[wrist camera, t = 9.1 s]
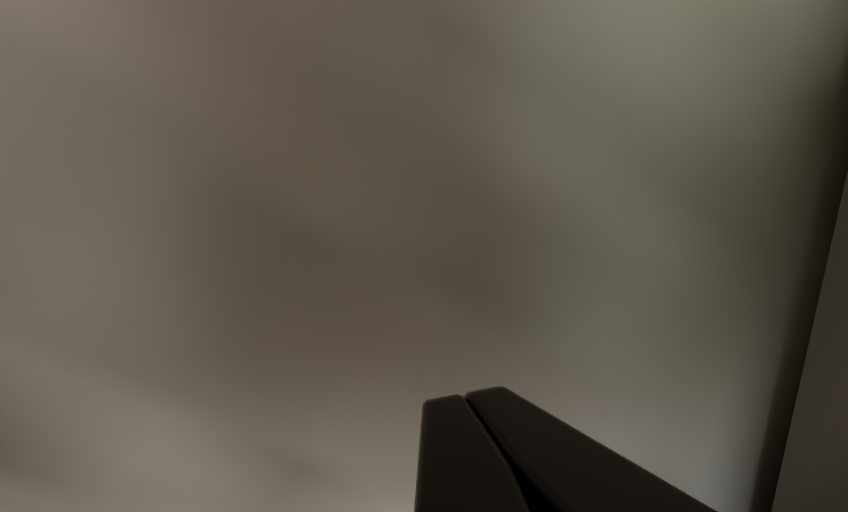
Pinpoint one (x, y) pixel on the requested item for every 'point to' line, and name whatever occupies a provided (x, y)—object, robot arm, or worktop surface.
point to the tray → (822, 397)
